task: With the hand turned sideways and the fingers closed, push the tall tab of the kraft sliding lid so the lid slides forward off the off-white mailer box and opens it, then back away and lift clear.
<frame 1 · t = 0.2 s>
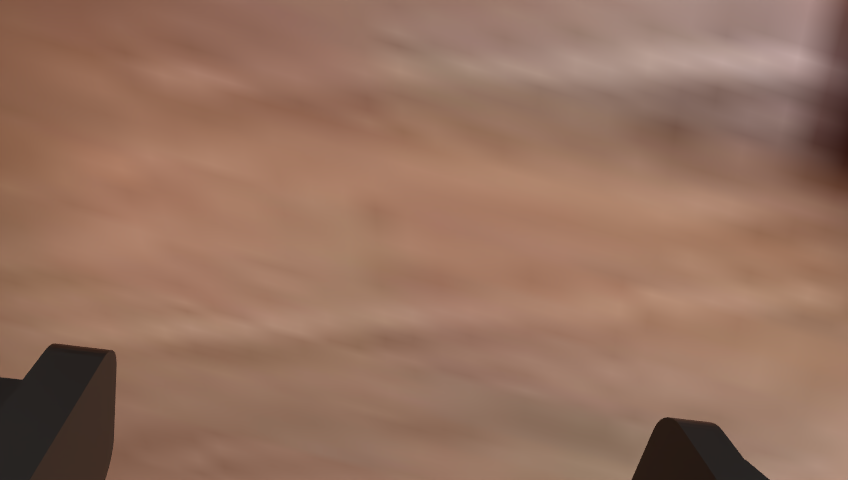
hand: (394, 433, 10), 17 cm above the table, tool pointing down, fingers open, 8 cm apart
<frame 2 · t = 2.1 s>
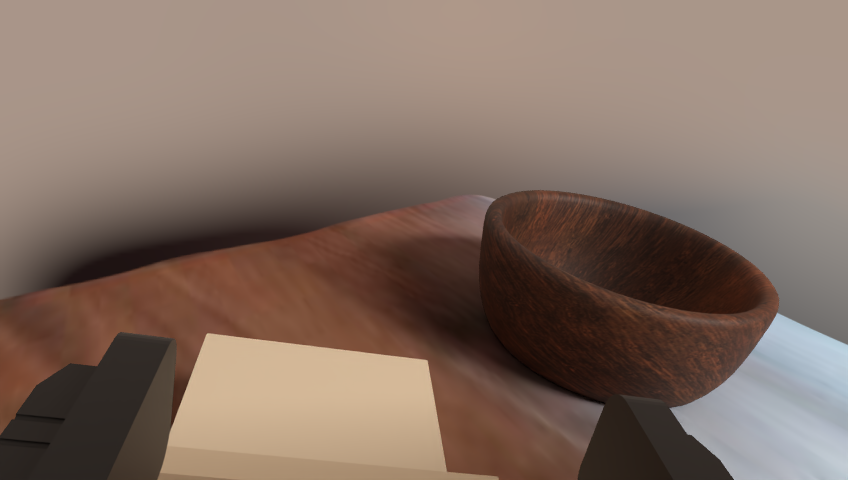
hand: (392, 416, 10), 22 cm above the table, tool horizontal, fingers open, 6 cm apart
wooden bowl: (591, 344, 60), on the table
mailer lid: (322, 397, 28), point 11 cm above the table, slide at 0.0 cm
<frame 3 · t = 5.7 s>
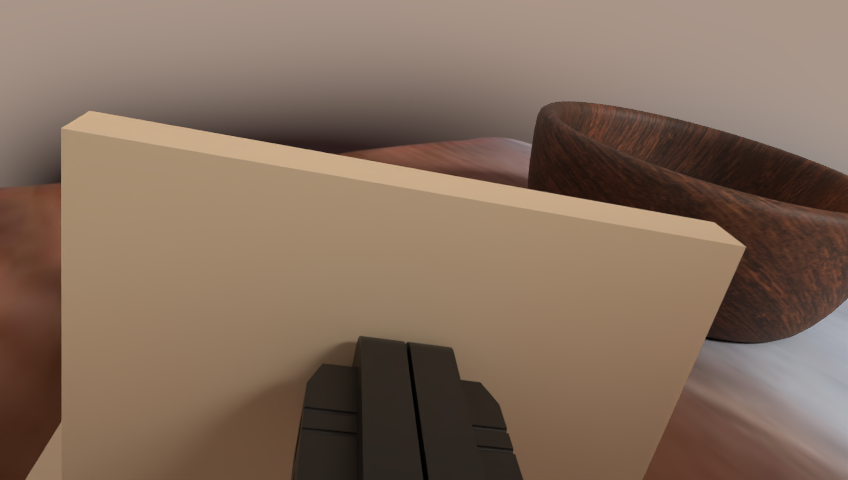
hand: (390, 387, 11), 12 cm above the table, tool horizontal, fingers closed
wooden bowl: (659, 277, 51), on the table
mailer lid: (369, 219, 20), point 11 cm above the table, slide at 1.0 cm, touching gripper
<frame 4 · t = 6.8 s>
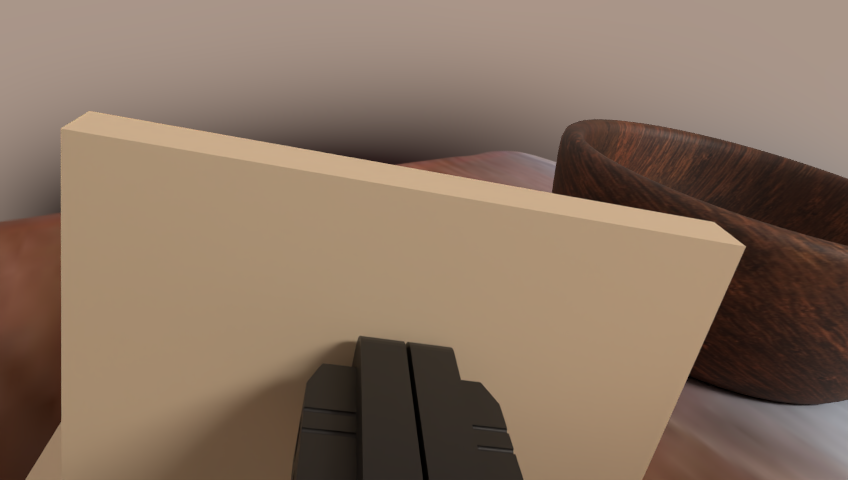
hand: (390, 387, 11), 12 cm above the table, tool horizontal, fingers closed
wooden bowl: (697, 319, 45), on the table
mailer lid: (369, 218, 20), point 11 cm above the table, slide at 7.4 cm, touching gripper
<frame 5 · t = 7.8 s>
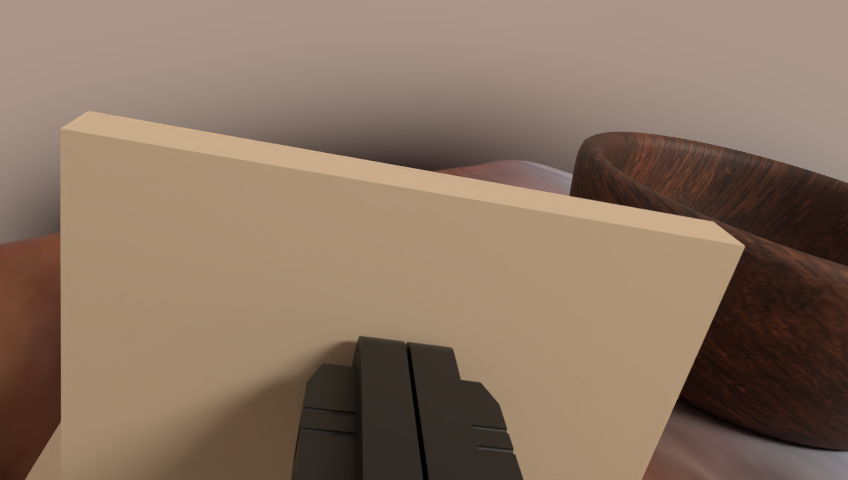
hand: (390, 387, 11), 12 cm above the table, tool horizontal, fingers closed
wooden bowl: (724, 348, 42), on the table
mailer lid: (368, 218, 20), point 11 cm above the table, slide at 11.1 cm, touching gripper
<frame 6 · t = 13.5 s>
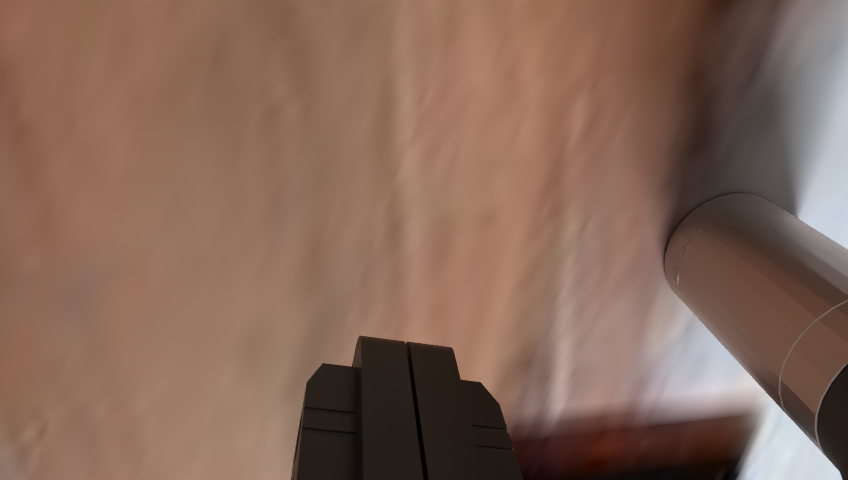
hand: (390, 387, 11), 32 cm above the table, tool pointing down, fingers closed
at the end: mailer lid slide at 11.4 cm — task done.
